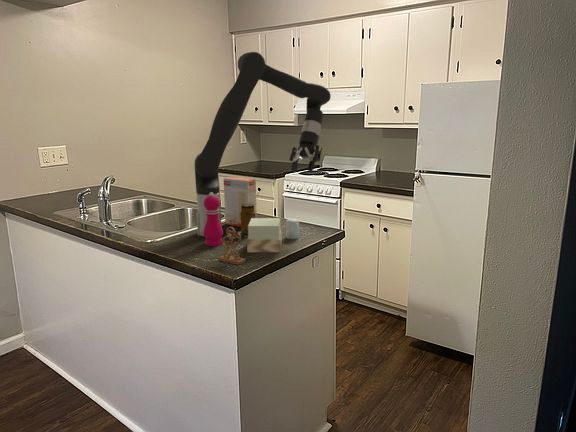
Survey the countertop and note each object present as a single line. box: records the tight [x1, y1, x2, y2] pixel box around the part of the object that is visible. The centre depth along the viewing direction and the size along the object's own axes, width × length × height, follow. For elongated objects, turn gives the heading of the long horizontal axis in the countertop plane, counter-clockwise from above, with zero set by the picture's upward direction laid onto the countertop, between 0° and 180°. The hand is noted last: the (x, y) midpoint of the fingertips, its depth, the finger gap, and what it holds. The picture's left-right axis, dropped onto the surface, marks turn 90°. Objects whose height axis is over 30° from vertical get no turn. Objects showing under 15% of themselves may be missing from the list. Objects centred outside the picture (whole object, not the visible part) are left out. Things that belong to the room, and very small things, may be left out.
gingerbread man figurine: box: [218, 226, 247, 266], centre depth 147 cm, size 9×4×12 cm, turn 58°
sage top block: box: [247, 217, 281, 240], centre depth 161 cm, size 11×11×5 cm
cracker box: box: [223, 176, 258, 228], centre depth 189 cm, size 14×6×21 cm, turn 53°
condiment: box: [236, 204, 256, 238], centre depth 178 cm, size 7×8×12 cm
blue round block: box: [285, 218, 300, 240], centre depth 173 cm, size 5×5×7 cm
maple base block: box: [246, 230, 283, 253], centre depth 162 cm, size 12×12×5 cm
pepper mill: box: [203, 192, 224, 247], centre depth 164 cm, size 7×7×20 cm
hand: (301, 171), depth 175 cm, fingers open, 8 cm apart
